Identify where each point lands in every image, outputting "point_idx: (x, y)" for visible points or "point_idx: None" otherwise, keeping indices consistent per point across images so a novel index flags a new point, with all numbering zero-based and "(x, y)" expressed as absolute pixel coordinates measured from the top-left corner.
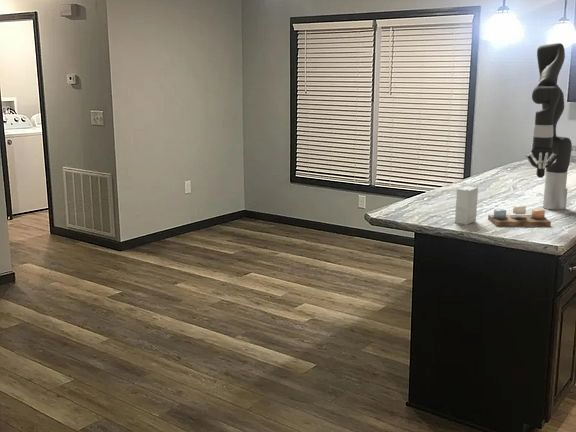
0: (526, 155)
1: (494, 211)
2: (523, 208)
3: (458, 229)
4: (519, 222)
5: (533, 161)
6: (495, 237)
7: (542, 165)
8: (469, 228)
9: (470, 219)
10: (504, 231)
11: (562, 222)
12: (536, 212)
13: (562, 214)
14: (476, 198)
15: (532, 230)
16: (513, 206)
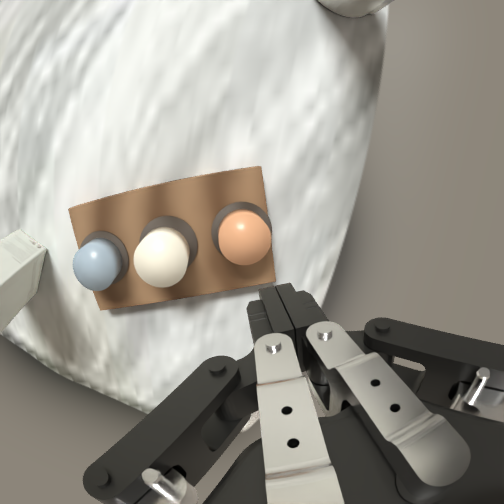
0: (93, 494)
1: (77, 274)
2: (175, 281)
3: (37, 343)
4: (168, 298)
5: (205, 462)
6: (121, 400)
7: (316, 392)
8: (52, 333)
9: (34, 286)
10: (131, 355)
11: (327, 205)
12: (232, 260)
13: (355, 76)
14: (4, 289)
15: (206, 335)
16: (134, 263)
